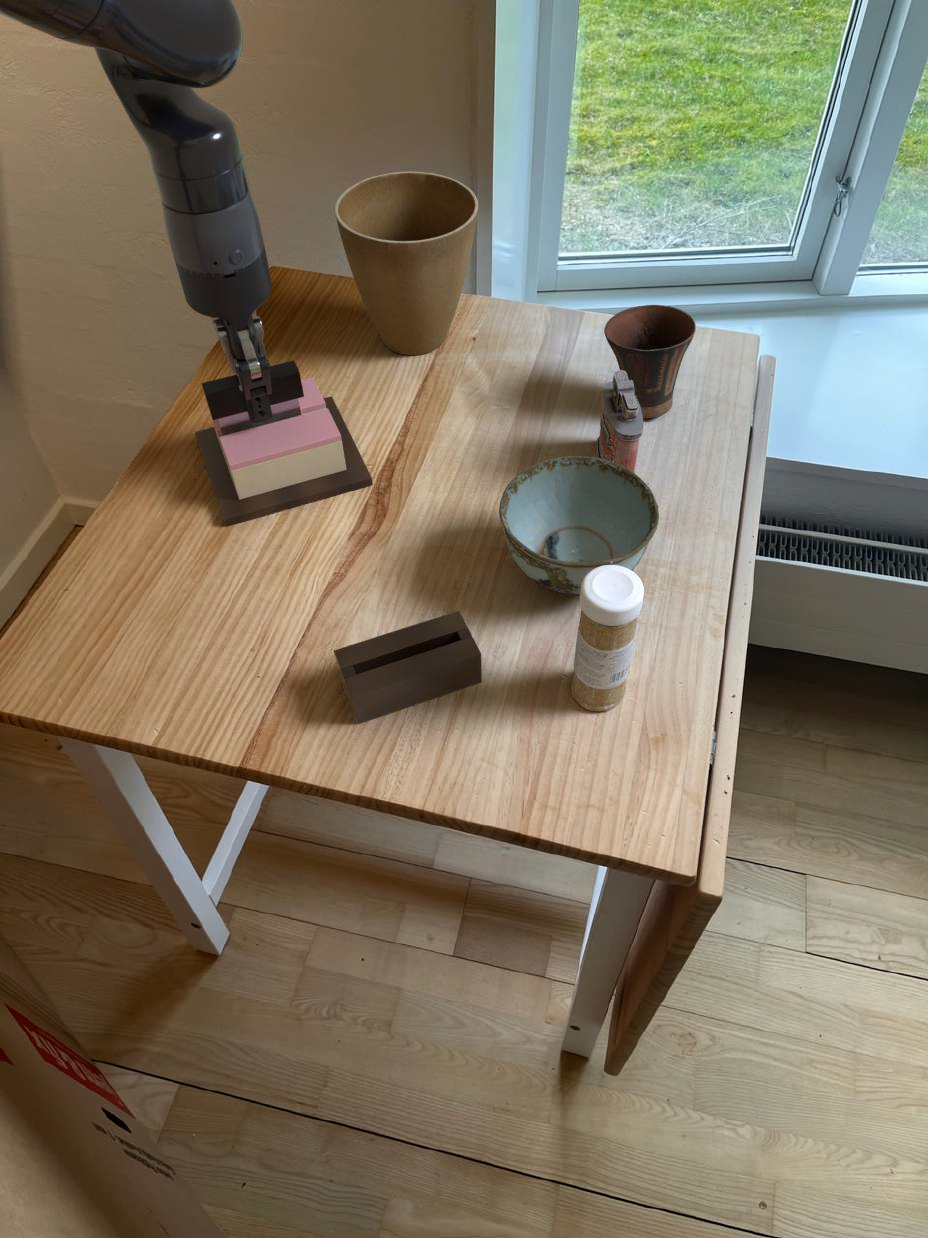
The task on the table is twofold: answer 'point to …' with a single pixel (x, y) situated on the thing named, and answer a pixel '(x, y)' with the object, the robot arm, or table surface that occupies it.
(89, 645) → the table surface
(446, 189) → the plant pot
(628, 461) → the lighter
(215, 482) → the cake board
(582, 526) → the bowl
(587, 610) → the sprinkles bottle
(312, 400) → the slice
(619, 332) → the cup
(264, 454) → the cake
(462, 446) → the table surface
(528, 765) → the table surface
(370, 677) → the knife stand
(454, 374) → the table surface
